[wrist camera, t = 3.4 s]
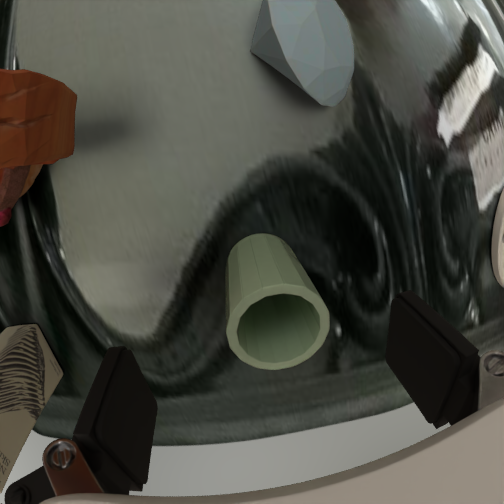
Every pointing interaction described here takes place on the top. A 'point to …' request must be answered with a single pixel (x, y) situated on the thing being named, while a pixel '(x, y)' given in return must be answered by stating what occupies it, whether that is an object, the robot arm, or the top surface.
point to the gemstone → (307, 46)
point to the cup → (272, 305)
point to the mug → (31, 130)
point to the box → (22, 388)
